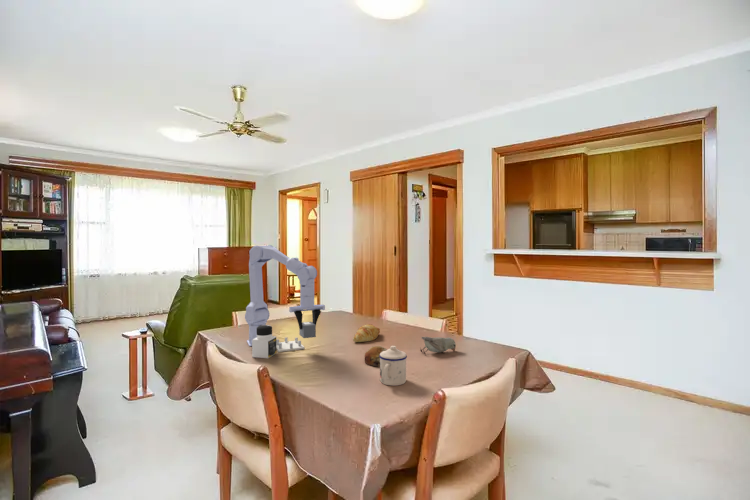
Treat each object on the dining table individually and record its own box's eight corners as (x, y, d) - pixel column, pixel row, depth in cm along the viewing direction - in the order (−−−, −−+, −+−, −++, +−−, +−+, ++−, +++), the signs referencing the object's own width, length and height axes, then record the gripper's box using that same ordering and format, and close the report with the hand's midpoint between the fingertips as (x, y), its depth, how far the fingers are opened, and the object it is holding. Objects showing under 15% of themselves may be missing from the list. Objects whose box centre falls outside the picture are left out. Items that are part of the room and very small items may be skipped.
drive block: (299, 334, 165) (299, 322, 165) (311, 333, 167) (311, 321, 167) (303, 338, 158) (303, 325, 158) (315, 337, 160) (315, 324, 160)
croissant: (359, 352, 175) (366, 337, 172) (343, 339, 179) (349, 324, 177) (382, 340, 193) (389, 327, 191) (367, 329, 197) (373, 315, 195)
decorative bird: (458, 353, 163) (458, 335, 163) (424, 357, 157) (424, 338, 157) (451, 349, 168) (451, 332, 168) (418, 353, 162) (418, 335, 162)
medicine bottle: (268, 358, 154) (268, 328, 153) (251, 357, 155) (251, 327, 155) (276, 353, 161) (276, 324, 160) (260, 352, 162) (260, 323, 162)
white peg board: (273, 344, 173) (273, 338, 173) (297, 342, 178) (297, 336, 178) (278, 352, 162) (278, 345, 162) (304, 349, 167) (304, 342, 167)
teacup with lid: (385, 374, 136) (385, 341, 136) (410, 378, 133) (410, 344, 132) (371, 387, 125) (371, 350, 125) (398, 391, 121) (398, 354, 121)
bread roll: (391, 370, 152) (394, 349, 155) (384, 366, 143) (387, 344, 146) (367, 367, 155) (370, 347, 158) (359, 363, 146) (362, 342, 149)
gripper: (292, 297, 155) (292, 331, 156) (327, 295, 162) (327, 328, 162) (288, 295, 162) (288, 328, 162) (322, 293, 168) (322, 325, 168)
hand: (307, 328), depth 163 cm, fingers closed on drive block, 5 cm apart
